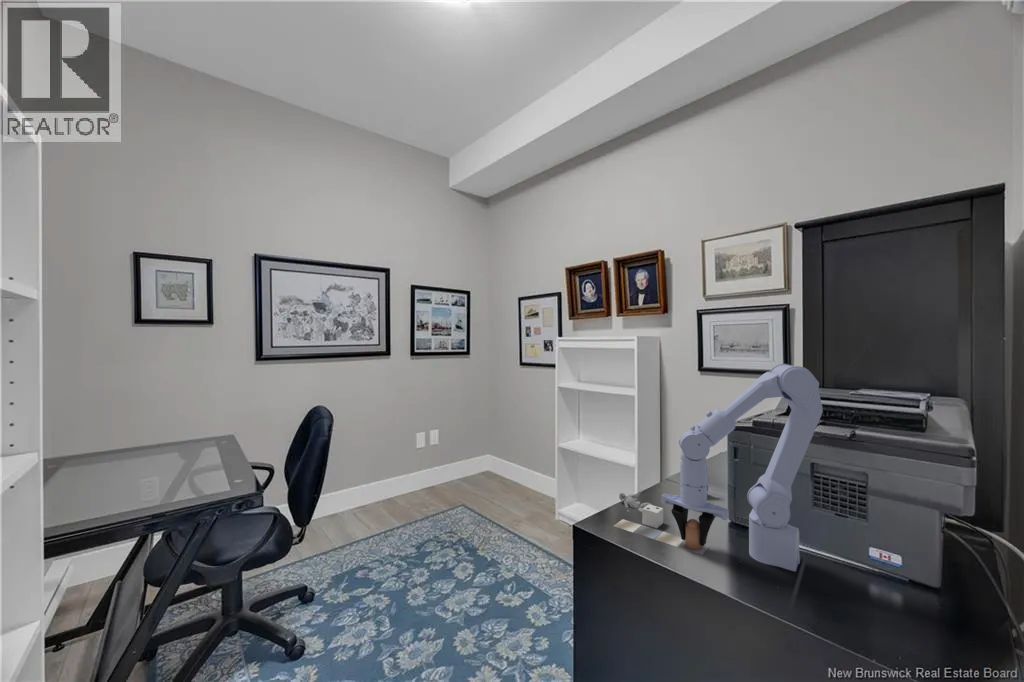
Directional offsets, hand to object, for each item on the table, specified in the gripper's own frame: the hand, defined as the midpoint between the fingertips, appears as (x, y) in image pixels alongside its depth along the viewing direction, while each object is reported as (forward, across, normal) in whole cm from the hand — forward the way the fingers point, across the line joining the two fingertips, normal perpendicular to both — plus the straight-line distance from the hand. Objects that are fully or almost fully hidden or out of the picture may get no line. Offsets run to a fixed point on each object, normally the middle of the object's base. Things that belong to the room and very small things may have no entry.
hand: (693, 541), depth 96 cm
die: (+1, +12, -6) cm, 13 cm away
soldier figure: (+2, +19, -12) cm, 23 cm away
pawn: (+1, 0, 0) cm, 1 cm away
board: (+2, +8, -2) cm, 9 cm away
